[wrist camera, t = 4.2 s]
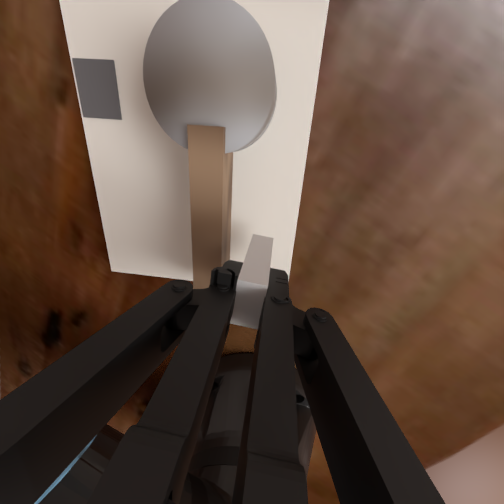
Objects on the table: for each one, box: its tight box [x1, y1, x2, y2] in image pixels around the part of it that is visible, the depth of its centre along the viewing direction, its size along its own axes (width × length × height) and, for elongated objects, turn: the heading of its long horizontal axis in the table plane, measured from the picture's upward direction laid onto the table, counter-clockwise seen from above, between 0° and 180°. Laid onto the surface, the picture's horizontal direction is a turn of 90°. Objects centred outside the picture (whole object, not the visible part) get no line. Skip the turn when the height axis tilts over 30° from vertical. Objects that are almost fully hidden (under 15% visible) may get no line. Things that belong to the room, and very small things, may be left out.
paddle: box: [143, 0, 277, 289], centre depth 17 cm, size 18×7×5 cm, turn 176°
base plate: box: [59, 0, 329, 281], centre depth 20 cm, size 21×17×2 cm
